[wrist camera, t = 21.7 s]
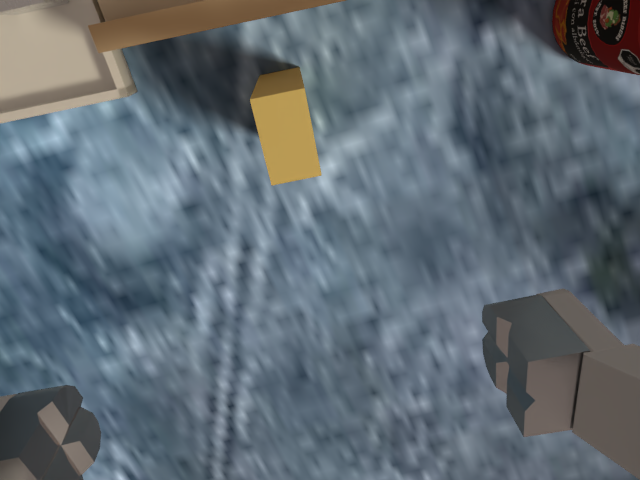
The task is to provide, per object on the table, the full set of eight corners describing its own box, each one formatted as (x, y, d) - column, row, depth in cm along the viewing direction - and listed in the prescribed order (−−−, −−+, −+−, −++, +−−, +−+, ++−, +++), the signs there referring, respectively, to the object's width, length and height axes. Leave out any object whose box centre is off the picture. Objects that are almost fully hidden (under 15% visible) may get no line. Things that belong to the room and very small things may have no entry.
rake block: (259, 75, 32) (249, 99, 23) (299, 67, 32) (304, 87, 23) (275, 140, 35) (271, 185, 26) (312, 133, 35) (321, 175, 26)
